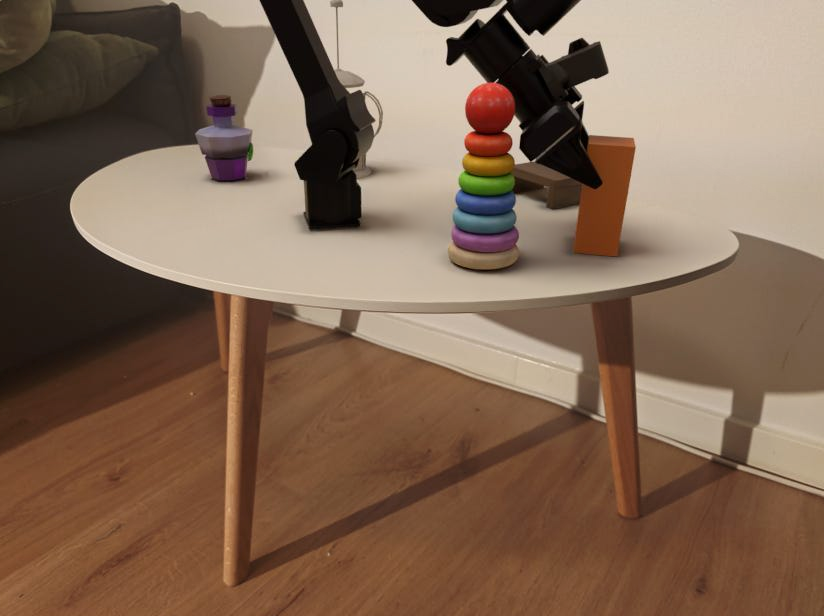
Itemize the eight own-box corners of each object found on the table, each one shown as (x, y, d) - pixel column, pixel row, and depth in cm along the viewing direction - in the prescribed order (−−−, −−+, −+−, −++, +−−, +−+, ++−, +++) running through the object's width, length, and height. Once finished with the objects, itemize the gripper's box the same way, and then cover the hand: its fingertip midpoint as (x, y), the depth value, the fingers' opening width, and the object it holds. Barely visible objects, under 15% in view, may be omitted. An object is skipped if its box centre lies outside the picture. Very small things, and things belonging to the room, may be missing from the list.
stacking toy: (443, 249, 82) (448, 78, 73) (510, 248, 83) (522, 78, 74) (452, 272, 75) (459, 86, 66) (525, 271, 76) (541, 86, 67)
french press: (319, 163, 118) (312, -4, 106) (387, 166, 117) (387, -2, 105) (303, 177, 109) (293, -3, 97) (376, 181, 108) (375, 0, 96)
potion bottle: (264, 181, 107) (257, 98, 101) (206, 187, 103) (196, 101, 97) (249, 168, 113) (242, 90, 108) (195, 173, 110) (184, 92, 104)
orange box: (573, 252, 82) (588, 143, 76) (574, 239, 86) (588, 134, 80) (617, 256, 81) (635, 146, 75) (616, 243, 85) (633, 137, 79)
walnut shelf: (552, 209, 97) (555, 180, 95) (504, 192, 104) (506, 165, 102) (587, 202, 101) (591, 174, 99) (538, 186, 108) (541, 160, 106)
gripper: (566, 15, 65) (667, 144, 68) (572, 8, 81) (654, 113, 84) (477, 100, 70) (575, 217, 73) (499, 78, 86) (579, 174, 89)
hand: (599, 176), depth 80 cm, fingers open, 9 cm apart
